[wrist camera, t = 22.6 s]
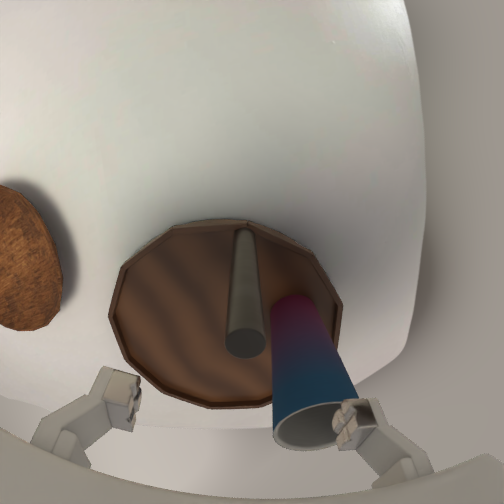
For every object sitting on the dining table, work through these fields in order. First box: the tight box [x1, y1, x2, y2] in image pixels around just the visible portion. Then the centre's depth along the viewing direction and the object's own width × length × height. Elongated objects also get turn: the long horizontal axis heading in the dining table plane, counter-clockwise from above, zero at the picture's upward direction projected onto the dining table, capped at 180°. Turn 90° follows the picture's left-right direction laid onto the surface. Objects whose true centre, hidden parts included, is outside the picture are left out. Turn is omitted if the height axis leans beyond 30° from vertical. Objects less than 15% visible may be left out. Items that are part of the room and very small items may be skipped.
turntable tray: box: [108, 219, 343, 409], centre depth 26 cm, size 26×26×16 cm
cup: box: [270, 295, 359, 451], centre depth 25 cm, size 7×7×15 cm
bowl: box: [0, 185, 63, 331], centre depth 28 cm, size 20×22×5 cm
